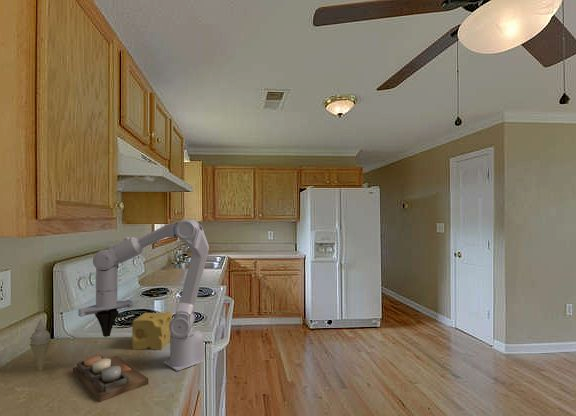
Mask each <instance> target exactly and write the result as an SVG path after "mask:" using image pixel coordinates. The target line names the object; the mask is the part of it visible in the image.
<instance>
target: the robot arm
mask: <svg viewBox="0 0 576 416" xmlns="http://www.w3.org/2000/svg"><path fill="white" fill-rule="evenodd" d="M166 238H170V239H177V238H178V239H179V240H181V241H182V242H184V244H186V246H187V247H188V248H189V249H190V252H191V255H190V260H189V263H188V266H187V267H188V268H187V272H186V275H185V278H184V283H183V287H182V291H181V295H180V299H179V303H178V305H177V309H176V310H175V315H174V317H172V320H171V322H170V324H169V331H170V341H169V359H168V360H165V361H164V364H165V365H167V366H168V367H170V368H171V369H173V370H175V372H176V371H177V372H178V371H182V370H184V369H187V368H189V367H194V366H195V365H198V364H201V363H204V362H205V360H206V359H204V338H203V337H204V336H203V334H202V333H201V331H200V330H198V329H196V330H195V329H194V327H193V325H194V323H195V321H196V315H195V309H196V302H197V298H198V293H199V290H200V286H201V282H202V277H203V273H204V270H205V267H206V262H207V258H208V255H209V251H210V245H209V243H208V240H207V237H206V234H205V231H204V227H203V226H202V225H201V224H200V222H199V221H197V219H194V218H185V219H181V220H179V221H174V222H171V223H168V224H165V225H163V226H161V227H159V228H157V229H155V230H153V231H151V232H149V233H147V234H145V235H143V236H141V237H139V238H138V237H133V236H132V237H129V236H126V237H124V238H123V241H120V242H119V243H116V244H110V245H109V246H108V249H100V250H99V251H98V252H97V253H95V255H94V256H93V258H92V264H93V266H94V267H95V304H93V305H90V306H89V305H88V306H86V307H81V308H78V310H77V311H78V312H77V313H78V316H79V317H80V318H82V317H85V316H90V315H95V317H96V319H97V321H98V324H99V325H100V327H101V328H100V329H101V332H102V336H103V337H104V338H107V337H110V336H111V333H112V329H113V326H114V323H115V322H116V319H117V318H118V316H119V311H118V310H121V309H127V308H133V300H131V299H126V300H118V265H119V264H122V263H124V262H125V263H126V261H129V260H130V259H133V258H134V257H135V258H136V257H137V256H140V255H141V254H142V252H143V250H144V248H146V247H148V246H150V245H153V244H154V243H155V244H156V243H158V242H160V241H162V240H165V239H166Z"/></svg>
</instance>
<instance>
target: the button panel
mask: <svg viewBox="0 0 576 416" xmlns="http://www.w3.org/2000/svg"><path fill="white" fill-rule="evenodd" d="M100 356H101V357H102V359H110V360H111V366H119V367H121V377H120V378H118V379H116V380H114V381H103V380H102V372H101V373H94V372H93V371H92V370H93V366H91V367H87V368H86V367H85V366H84V360H80V361H79V362H76V366H74V367H72V375H74V377H76V378H77V380H79V381H80V382H81V383H82V385H84V386H85V387H86V388H87V390H88V391H89V392H91V393H92V394H93V396H94V397H96V399H97V400H98V401H99V402H104V401H106V400H108V399H111V398H114V397H116V396H119V395H122V394H125V393H127V392H130V391H134V390H136V389H139V388H141V387H144V386H148V385H149V377H147V376H146V375H144V374H143V373H142V372H140V371H139V370H138V369H136V368H134V367H133V366H131V365H130V364H129V363H128V362H126V361H125V360H123V359H122V358H120V357H119V356H117V355H114V356H111V357H110V356H109V357H107V358H105V357H103V356H102V355H100Z"/></svg>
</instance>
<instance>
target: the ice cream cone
mask: <svg viewBox="0 0 576 416" xmlns="http://www.w3.org/2000/svg"><path fill="white" fill-rule="evenodd" d="M29 339H30V341H29V342H30V343H29V346H30V348H31V351H32V354H33V357H34V360H35V362H36V365H37V369H38V371H39V372H41V371H42V368H43V365H44V363H45V359H46V356H47V352H48V350H49V346H50V343H51V342H52V341H51V333H50V332H49V331H48V330H47V326H45V325H44V322H43V321H42V319H41V318H40V319H39V321H38V323H37V325H36V327H35V328H34V332H33V333H32V334H31V336H30V337H29Z"/></svg>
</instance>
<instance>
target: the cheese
mask: <svg viewBox="0 0 576 416" xmlns="http://www.w3.org/2000/svg"><path fill="white" fill-rule="evenodd" d="M172 319H173V313H172V311H169V312H168V311H166V312H144V313H142V314H141V315H139V316H138V317H137V318H136V319H133V320H132V325H131V326H132V327H131V328H132V335H131V336H132V337H131V338H132V350H147V349H150V350H158V351H160V350H161V351H162V350H163V349H164V347H165V346H166V345H167V344H168V343H170V331H169V324H170V322H171V320H172Z"/></svg>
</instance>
